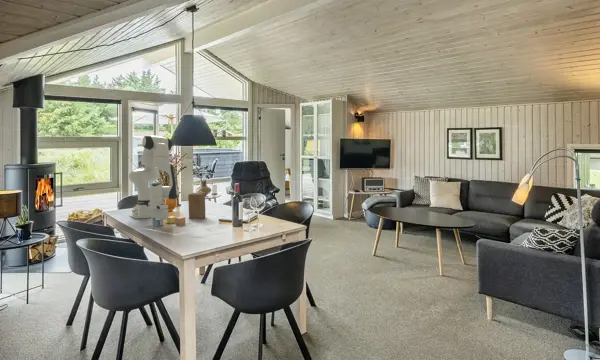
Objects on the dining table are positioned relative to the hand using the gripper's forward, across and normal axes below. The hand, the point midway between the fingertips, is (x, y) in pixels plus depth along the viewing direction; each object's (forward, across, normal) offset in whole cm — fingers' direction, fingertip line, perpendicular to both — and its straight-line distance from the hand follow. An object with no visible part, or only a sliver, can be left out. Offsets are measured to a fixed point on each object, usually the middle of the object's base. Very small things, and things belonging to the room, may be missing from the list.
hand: (157, 224), depth 269 cm
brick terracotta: (+1, +11, +11) cm, 16 cm away
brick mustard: (+2, 0, +12) cm, 12 cm away
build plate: (+2, +11, +11) cm, 16 cm away
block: (+2, +2, +35) cm, 35 cm away
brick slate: (+2, 0, 0) cm, 2 cm away
